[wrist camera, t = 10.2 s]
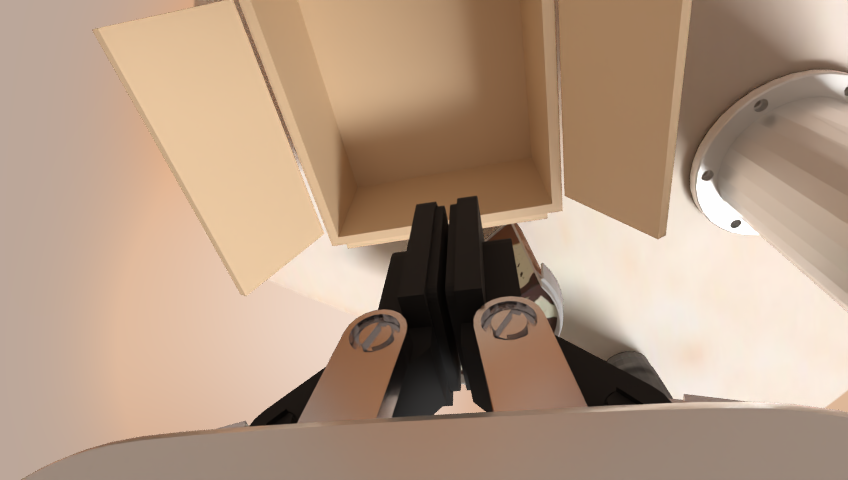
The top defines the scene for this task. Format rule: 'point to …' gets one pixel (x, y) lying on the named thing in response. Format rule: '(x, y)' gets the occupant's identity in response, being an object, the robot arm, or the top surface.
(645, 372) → the beverage cup
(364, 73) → the carton
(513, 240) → the food container
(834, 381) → the top surface
